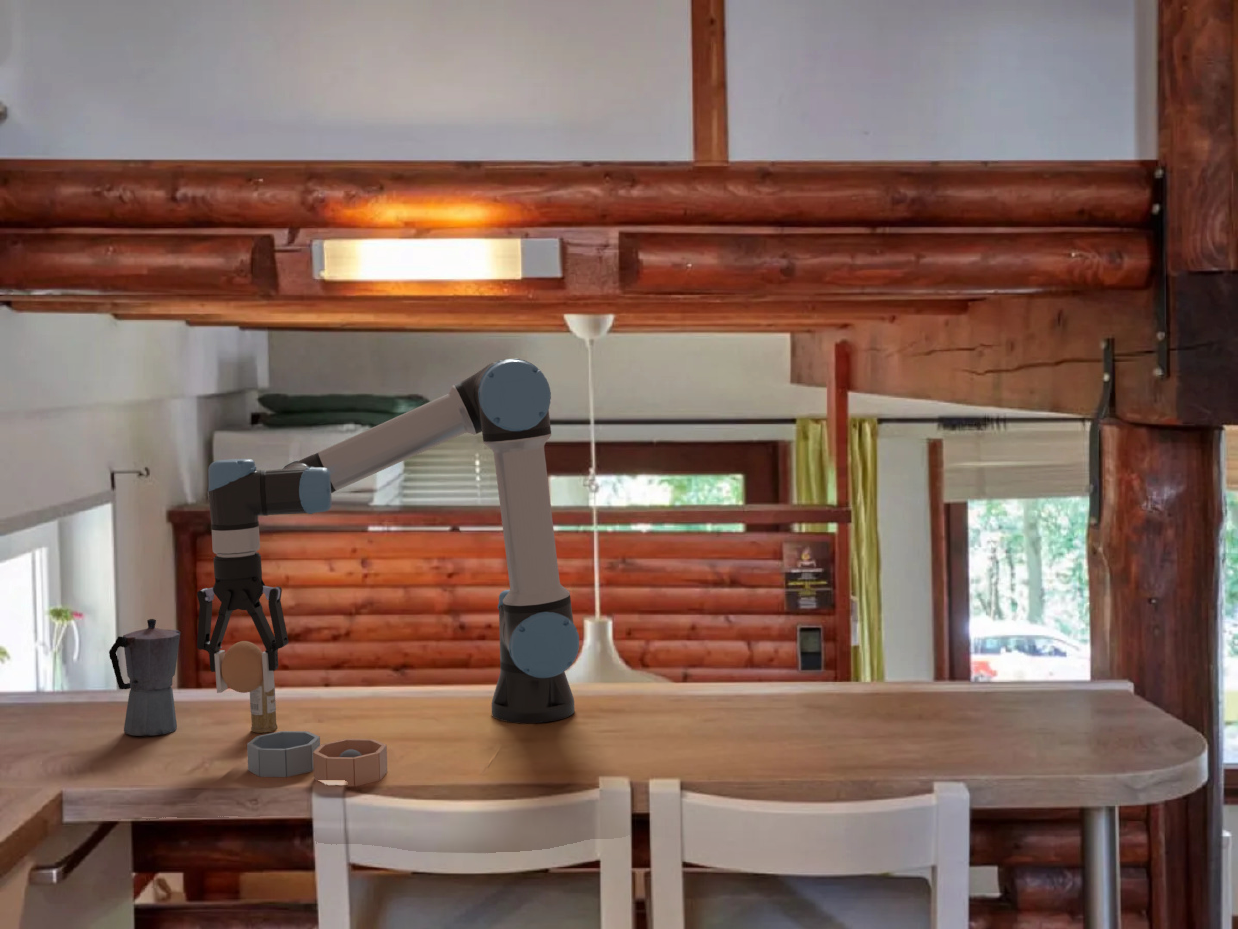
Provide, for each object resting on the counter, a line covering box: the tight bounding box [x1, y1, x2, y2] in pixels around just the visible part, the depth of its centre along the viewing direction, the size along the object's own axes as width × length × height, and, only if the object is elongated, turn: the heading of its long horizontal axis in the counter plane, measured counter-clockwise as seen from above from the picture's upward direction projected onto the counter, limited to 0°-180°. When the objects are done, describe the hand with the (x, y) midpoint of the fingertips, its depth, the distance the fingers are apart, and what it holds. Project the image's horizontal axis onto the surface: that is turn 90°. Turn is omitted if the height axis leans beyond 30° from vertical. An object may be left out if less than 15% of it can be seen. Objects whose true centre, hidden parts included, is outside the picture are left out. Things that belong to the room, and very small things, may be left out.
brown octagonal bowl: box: [313, 738, 388, 787], centre depth 206 cm, size 10×10×5 cm
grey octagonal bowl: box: [246, 730, 321, 778], centre depth 211 cm, size 10×10×5 cm
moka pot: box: [108, 618, 182, 737], centre depth 234 cm, size 10×15×20 cm, turn 155°
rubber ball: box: [339, 749, 362, 757], centre depth 206 cm, size 4×4×4 cm
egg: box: [221, 640, 264, 694], centre depth 220 cm, size 7×7×8 cm
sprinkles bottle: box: [249, 671, 278, 734], centre depth 235 cm, size 5×5×14 cm
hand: (245, 690), depth 220 cm, fingers closed on egg, 7 cm apart
